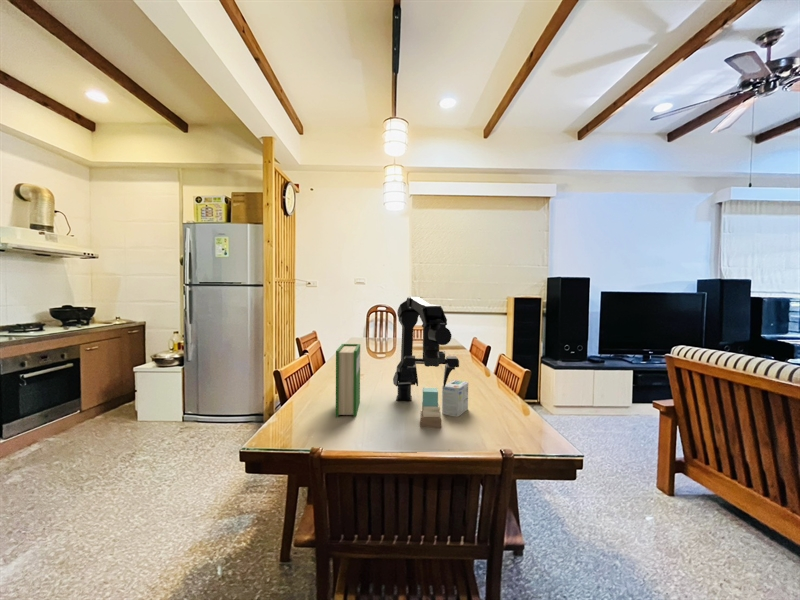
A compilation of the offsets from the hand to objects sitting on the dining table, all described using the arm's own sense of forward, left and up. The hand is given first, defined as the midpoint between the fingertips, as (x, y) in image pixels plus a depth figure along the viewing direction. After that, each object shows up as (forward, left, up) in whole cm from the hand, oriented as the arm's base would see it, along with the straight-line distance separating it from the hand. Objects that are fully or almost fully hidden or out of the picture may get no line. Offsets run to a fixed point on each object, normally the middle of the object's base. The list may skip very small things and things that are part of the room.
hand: (430, 386), depth 124 cm
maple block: (0, 0, -10) cm, 10 cm away
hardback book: (-13, -31, -13) cm, 36 cm away
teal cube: (0, 0, -6) cm, 6 cm away
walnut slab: (0, 0, -13) cm, 13 cm away
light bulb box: (-13, +10, -13) cm, 21 cm away
